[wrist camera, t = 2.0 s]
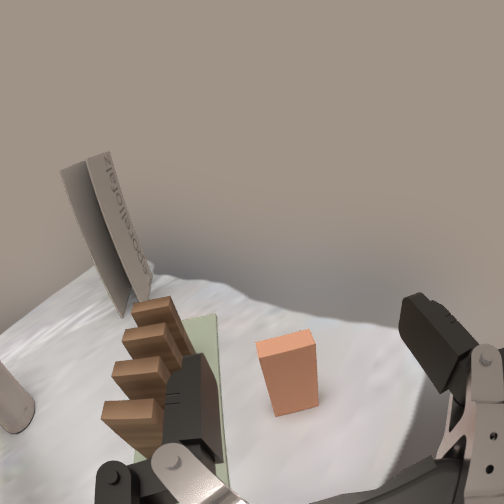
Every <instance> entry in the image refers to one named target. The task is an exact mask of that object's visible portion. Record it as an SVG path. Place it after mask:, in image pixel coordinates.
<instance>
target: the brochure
mask: <svg viewBox="0 0 504 504" xmlns="http://www.w3.org/2000/svg"><path fill="white" fill-rule="evenodd" d="M60 175H61V178H62V181H63V184H64V187H65V191H66V193H67V196H68V199H69V202H70V205H71V208H72V211H73V213H74V216H75V219H76V222H77V224H78V227H79V229H80V232H81V234H82V237H83V239H84V242H85V244H86V246H87V249H88V251H89V253H90V256H91V258H92V260H93V262H94V265H95V267H96V269H97V271H98V273H99V275H100V277H101V280H102V282H103V284H104V286H105V288H106V290H107V292H108V294H109V296H110V298H111V300H112V302H113V303H114V305H115V307H116V309H117V311H118V313H119V315H120V317H121V318H123V316H124V312H125V308H126V304H127V300H128V297H129V293H130V289H131V286H132V287H133V289H134V291H135V294H136V296H137V298H138V300H139V302H143V301H148V299H149V293H150V287H151V282H152V274H151V271H150V269H149V266H148V264H147V261H146V259H145V256H144V254H143V251H142V249H141V246H140V243H139V241H138V238H137V235H136V232H135V230H134V227H133V224H132V221H131V219H130V216H129V213H128V210H127V207H126V204H125V201H124V198H123V195H122V192H121V189H120V185H119V182H118V179H117V175H116V172H115V169H114V165H113V162H112V158H111V155H110V151H108V152H105V153H102V154H99V155H96V156H93V157H91V158H88V159H85V161H83V162H80V163H77V164H75V165H72V166H70V167H68V168H65V169H63V170H60Z"/></svg>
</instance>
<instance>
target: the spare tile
mask: <svg viewBox="0 0 504 504" xmlns="http://www.w3.org/2000/svg"><path fill="white" fill-rule="evenodd" d="M256 347H257V352H258V357H259V361H260V365H261V368H262V372H263V375H264V379H265V382H266V386H267V389H268V393H269V396H270V399H271V403H272V406H273V410H274V413H275V416H276V417H277V416H281V415H285V414H290V413H294V412H297V411H301V410H305V409H309V408H312V407H316V406H318V380H317V360H316V344H315V341H314V339H313V337H312V334H311V332H310V330H309V329H307V330H303V331H299V332H295V333H291V334H288V335H284V336H280V337H276V338H271V339H267V340H263V341H259V342H256Z"/></svg>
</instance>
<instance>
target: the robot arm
mask: <svg viewBox="0 0 504 504" xmlns="http://www.w3.org/2000/svg"><path fill="white" fill-rule="evenodd" d="M399 333H400V336H401V338H402V340H403V341H404V343H405V344H406V345H407V347H408V348H409V350H410V351H411V352H412V354H413V355H414V357H415V358H416V360H417V361H418V362H419V364H420V365H421V367H422V368H423V370H424V371H425V373H426V374H427V375H428V377H429V378H430V380H431V381H432V383H433V384H434V386H435V387H436V389H437V390H438V392H439V394H441V393H443V392H445V391H447V390H448V389H449V390H450V392H451V395H450V398H449V407H448V415H447V422H446V428H445V434H444V438H443V440H442V443H441V445H440V447H439V450H438V453H437V456H436V459H435V460H433V458H432V456H429V457H427V458H425V459H423V460H421V461H419V462H418V463H416V464H414V465H412V466H410V467H408V468H406V469H404V470H403V471H401V472H400V473H399V474H398V475H396V476H395V477H394V478H392V479H391V480H390V481H388V482H387V483H385V484H384V485H382V486H381V487H380V488H378V489H375V490H370V491H363V492H356V493H348V494H341V495H338V496H335V497H331V498H328V499H324V500H321V501H317V502H313V503H309V504H504V348H502V349H499V350H497V349H496V348H495V347H493V346H492V345H489V344H481V345H479V344H478V343H477V341H476V340H475V339H474V338H473V337H472V336H471V335H470V334H469V332H468V331H467V330H466V329H465V328H464V327H463V326H462V325H461V324H460V323H459V322H458V321H457V320H456V319H455V317H454V316H453V315H451V313H450V312H449V311H448V310H447V309H446V308H445V307H444V306H443V305H441V304H439V303H437V302H435V301H433V300H432V301H429V299H428V298H427V297H426V296H425V295H424V294H422V293H416V294H414V295H411V296H408V297H406V298H404V299H403V301H402V307H401V314H400V320H399ZM34 409H35V405H34V400H33V398H32V397H31V396H30V395H29V394H28V393H27V392H26V391H25V390H24V388H23V387H22V386H21V385H20V384H19V383H18V382H17V380H16V379H15V378H14V377H13V376H12V375H11V373H10V372H9V371H8V370H7V368H6V367H5V366H4V365H3V363H2V362H1V361H0V425H1V426H2V427H3V428H4V429H5V430H6V431H7V432H9V433H18V432H20V431H22V430H23V429H24V428H25V427H26V426H27V425H28V424H29V423H30V421H31V419H32V417H33V414H34ZM221 463H224V459H223V448H222V436H221V423H220V409H219V394H218V386H217V382H216V378H215V376H214V374H213V372H212V370H211V368H210V366H209V363H208V361H207V359H206V357H205V355H204V354H203V353H197V354H192V355H186V356H183V358H182V370H179V371H173V372H172V374H171V376H170V378H169V380H168V381H167V386H166V397H165V408H164V420H163V435H162V443H161V446H160V447H159V448H158V449H157V450H156V451H155V452H154V454H153V456H152V457H150V458H149V459H146V460H144V461H140V462H137V463H134V464H130V465H127V466H126V465H125V464H123V463H121V462H119V461H108V462H106V463H104V464H103V465H102V466H101V467H100V468H99V469H98V471H97V475H96V485H95V503H94V504H177V503H180V504H249V503H248V502H246V501H245V500H244V499H243V498H241V497H240V496H239V495H238V494H237V493H236V492H234V491H233V490H232V489H231V488H230V487H229V486H228V485H226V484H225V483H224V482H223V481H222V480H221V479H220V478H219V477H218V476H217V475H216V467H215V464H221Z"/></svg>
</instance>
